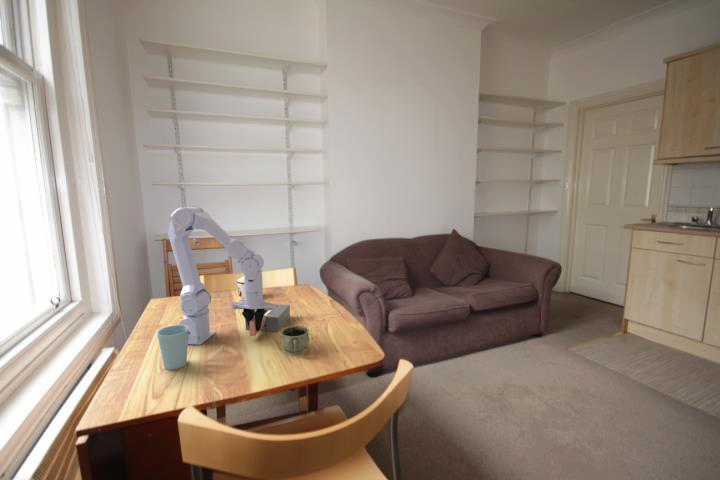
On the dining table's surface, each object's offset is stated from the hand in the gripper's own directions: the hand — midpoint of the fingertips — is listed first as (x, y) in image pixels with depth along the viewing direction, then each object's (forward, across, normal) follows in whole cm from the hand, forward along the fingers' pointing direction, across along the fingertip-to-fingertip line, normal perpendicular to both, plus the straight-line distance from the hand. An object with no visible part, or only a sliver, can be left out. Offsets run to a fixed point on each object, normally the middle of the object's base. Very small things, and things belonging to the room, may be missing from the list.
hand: (255, 330), depth 112 cm
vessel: (+3, -16, +7) cm, 18 cm away
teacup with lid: (+3, +20, -40) cm, 45 cm away
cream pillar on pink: (+1, 0, -7) cm, 8 cm away
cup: (+3, +15, +20) cm, 25 cm away
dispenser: (+3, 0, -13) cm, 13 cm away
